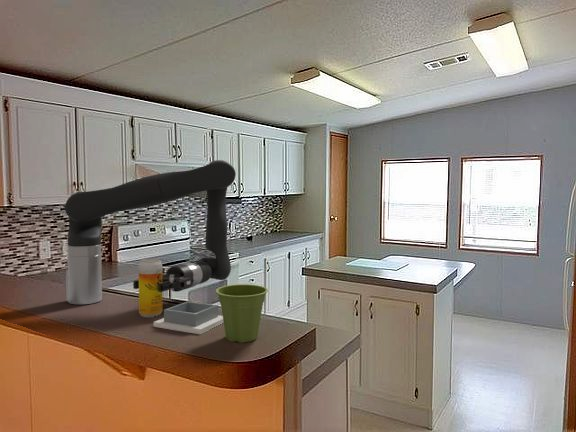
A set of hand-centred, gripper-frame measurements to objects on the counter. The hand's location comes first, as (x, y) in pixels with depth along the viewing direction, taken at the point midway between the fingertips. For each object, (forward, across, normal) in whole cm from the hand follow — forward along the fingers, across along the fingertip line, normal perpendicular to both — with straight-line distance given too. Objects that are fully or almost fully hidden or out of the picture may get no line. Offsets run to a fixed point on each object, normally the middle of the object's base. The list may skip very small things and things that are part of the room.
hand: (146, 286), depth 118 cm
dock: (0, +15, +8) cm, 17 cm away
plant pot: (+4, +32, +8) cm, 33 cm away
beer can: (-2, 0, +8) cm, 8 cm away
